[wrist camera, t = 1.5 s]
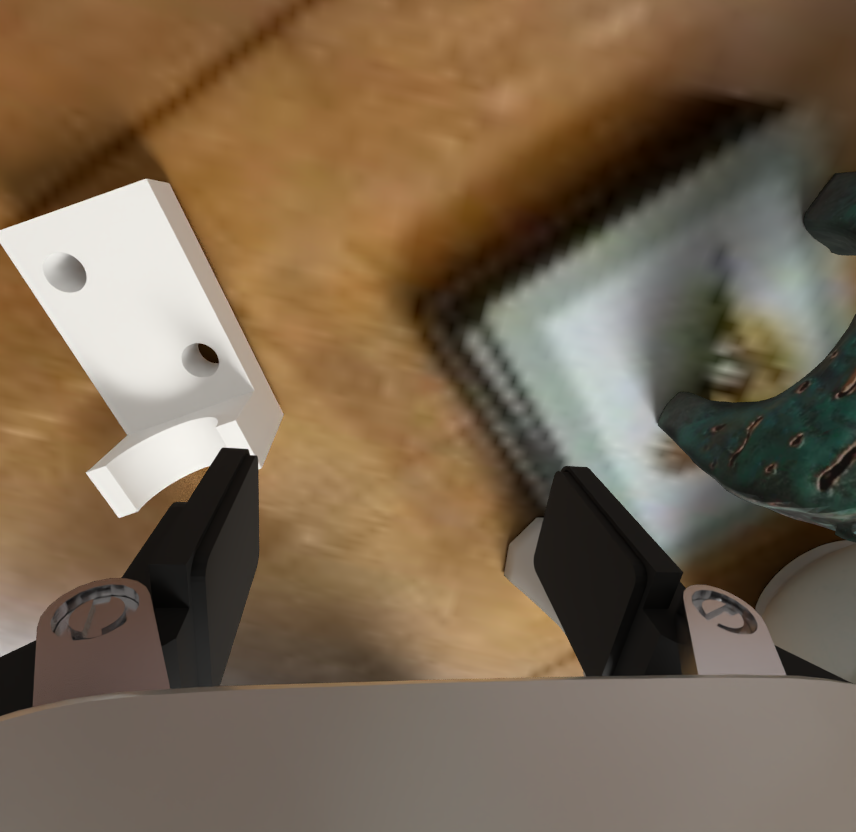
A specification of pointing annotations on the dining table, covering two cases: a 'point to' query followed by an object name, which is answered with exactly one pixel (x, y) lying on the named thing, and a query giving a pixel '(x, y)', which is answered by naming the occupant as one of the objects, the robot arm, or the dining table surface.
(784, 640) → the decorative bowl
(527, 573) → the flask
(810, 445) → the cat figurine
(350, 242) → the dining table surface
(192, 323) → the bracket
